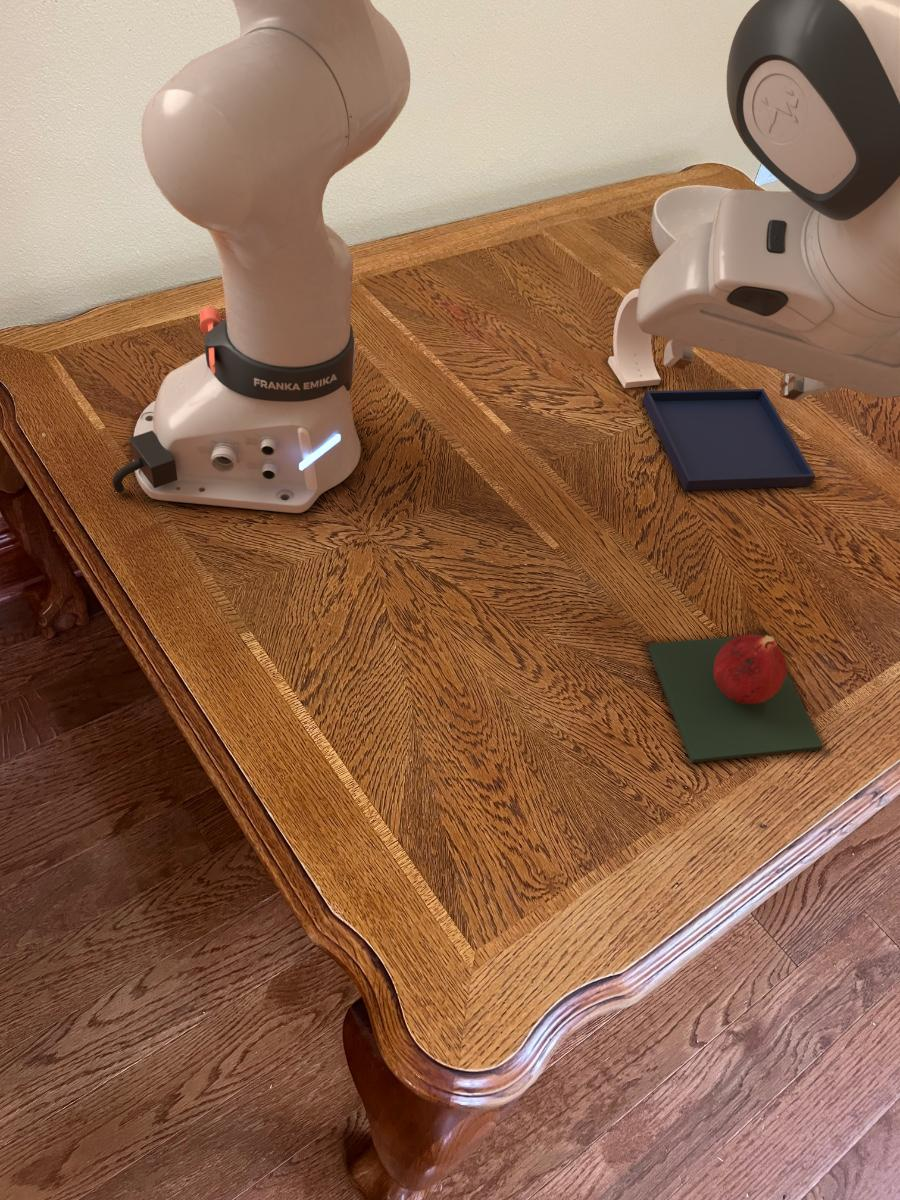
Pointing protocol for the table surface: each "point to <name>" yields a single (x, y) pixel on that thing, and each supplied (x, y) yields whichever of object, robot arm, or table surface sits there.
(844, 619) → the table surface
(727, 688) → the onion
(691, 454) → the tray
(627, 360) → the headphone stand
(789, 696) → the dark green mat
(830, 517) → the table surface
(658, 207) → the serving bowl
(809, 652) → the table surface
